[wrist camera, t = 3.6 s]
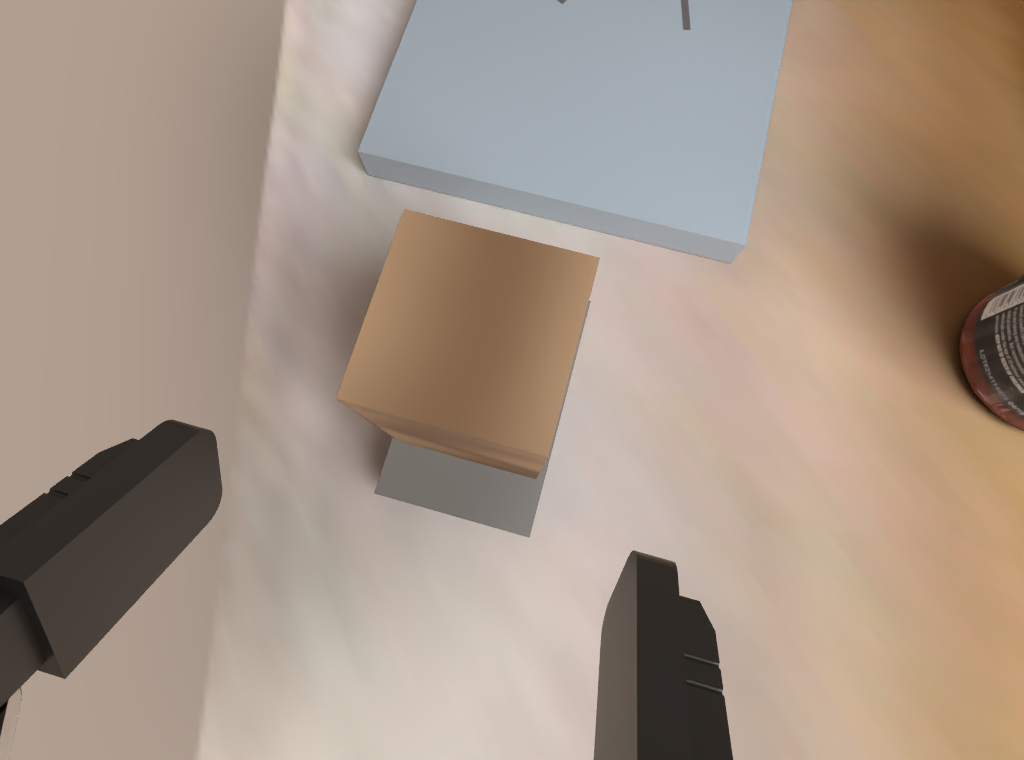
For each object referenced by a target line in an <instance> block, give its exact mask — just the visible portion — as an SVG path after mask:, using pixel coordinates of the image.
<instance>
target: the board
mask: <svg viewBox="0 0 1024 760" xmlns="http://www.w3.org/2000/svg"><path fill="white" fill-rule="evenodd" d="M792 3H793V0H417V1H416V4H415V6H414V9H413V11H412V14H411V16H410V19H409V21H408V24H407V27H406V29H405V32H404V34H403V37H402V39H401V42H400V44H399V47H398V50H397V52H396V55H395V57H394V60H393V62H392V65H391V67H390V70H389V72H388V75H387V78H386V80H385V83H384V85H383V88H382V90H381V93H380V95H379V98H378V101H377V103H376V106H375V108H374V111H373V113H372V116H371V118H370V121H369V123H368V126H367V129H366V131H365V134H364V136H363V139H362V141H361V144H360V146H359V149H358V153H359V156H360V158H361V160H362V163H363V165H364V167H365V170H366V172H367V174H368V175H371V176H375V177H379V178H383V179H388V180H392V181H396V182H400V183H404V184H408V185H412V186H416V187H420V188H424V189H428V190H432V191H437V192H441V193H445V194H449V195H453V196H457V197H461V198H465V199H469V200H473V201H477V202H481V203H485V204H490V205H494V206H498V207H502V208H506V209H510V210H514V211H518V212H522V213H526V214H530V215H534V216H538V217H543V218H547V219H551V220H555V221H559V222H563V223H567V224H571V225H575V226H579V227H583V228H587V229H592V230H596V231H600V232H604V233H608V234H612V235H616V236H620V237H624V238H628V239H632V240H636V241H640V242H645V243H649V244H653V245H657V246H661V247H665V248H669V249H673V250H677V251H681V252H685V253H689V254H693V255H698V256H702V257H706V258H710V259H714V260H718V261H722V262H726V263H730V264H731V262H732V261H733V260H734V259H735V258H736V257H737V255H738V254H739V253H740V252H741V251H742V250H743V248H744V247H745V246H746V243H747V238H748V232H749V227H750V222H751V217H752V212H753V206H754V201H755V196H756V191H757V185H758V180H759V175H760V170H761V165H762V159H763V154H764V149H765V144H766V139H767V133H768V128H769V123H770V118H771V112H772V107H773V102H774V97H775V92H776V86H777V81H778V76H779V71H780V66H781V60H782V55H783V50H784V45H785V39H786V34H787V29H788V24H789V19H790V13H791V8H792Z"/></svg>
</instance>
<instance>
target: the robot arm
mask: <svg viewBox="0 0 1024 760" xmlns="http://www.w3.org/2000/svg"><path fill="white" fill-rule="evenodd" d="M221 497H222V483H221V475H220V468H219V459H218V451H217V442H216V437H215V435H214V433H213V432H212V431H211V430H207V429H204V428H200V427H196V426H193V425H189V424H186V423H182V422H178V421H175V420H167V421H165V422H163V423H161V424H160V425H158V426H157V427H156V428H154V429H153V430H152V431H150V432H149V433H148V434H147V435H145V436H144V437H143V438H141V439H140V440H136V439H133V438H132V439H130V440H128V441H125V442H123V443H120V444H118V445H116V446H113V447H111V448H108V449H107V450H104V451H102V452H99V453H98V454H96V455H95V456H94V457H92V458H91V459H90V460H88V461H87V462H85V463H84V464H83V465H81V466H80V467H79V468H77V469H76V470H75V471H73V472H72V475H71V476H70V477H68V476H67V477H65V478H64V479H62V480H61V481H60V482H58V483H57V484H56V485H54V486H53V487H52V488H50V491H49V493H47V494H46V493H43V494H42V495H41V496H39V497H38V498H37V499H36V500H34V501H33V502H31V503H30V504H29V505H27V506H26V507H24V508H23V509H22V510H20V511H19V512H18V513H16V514H15V515H14V516H12V517H11V518H10V519H8V520H7V521H5V522H4V523H3V524H1V525H0V760H9V758H10V753H11V749H12V743H13V739H14V734H15V729H16V724H17V719H18V715H19V710H20V705H21V700H22V691H21V686H22V685H23V684H24V683H25V682H26V681H27V680H28V679H29V678H30V677H31V676H32V675H33V674H34V672H36V671H37V670H39V671H42V672H45V673H48V674H51V675H55V676H58V677H61V678H64V679H65V678H66V677H67V676H68V675H69V674H70V673H71V672H72V671H73V670H74V669H75V668H76V667H77V665H78V664H79V663H80V662H81V661H82V660H83V659H84V658H85V657H86V655H87V654H88V653H89V652H90V651H91V650H92V649H93V648H94V647H95V646H96V645H97V644H98V643H99V641H100V640H101V639H102V638H103V637H104V636H105V635H106V634H107V633H108V632H109V631H110V629H111V628H112V627H113V626H114V625H115V624H116V623H117V622H118V621H119V620H120V619H121V618H122V616H123V615H124V614H125V613H126V612H127V611H128V610H129V609H130V608H131V607H132V606H133V604H134V603H135V602H136V601H137V600H138V599H139V598H140V597H141V596H142V594H144V592H145V591H146V590H147V589H148V588H149V587H150V586H151V585H152V584H153V583H154V582H155V580H156V579H157V578H158V577H159V576H160V575H161V574H162V573H163V572H164V571H165V569H166V568H167V567H168V566H169V565H170V564H171V563H172V562H173V561H174V560H175V558H176V557H177V556H178V555H179V554H180V553H181V552H182V551H183V550H184V549H185V548H186V547H187V546H188V544H189V543H190V542H191V541H192V540H193V539H194V538H195V537H196V536H197V535H198V534H199V532H200V531H201V530H202V529H203V528H204V527H205V526H206V525H207V524H208V522H209V521H210V520H211V519H212V517H213V516H214V514H215V513H216V511H217V509H218V506H219V504H220V501H221ZM719 663H720V662H719V655H718V648H717V641H716V633H715V630H714V628H713V626H712V624H711V622H710V620H709V618H708V617H707V615H706V613H705V611H704V609H703V607H702V605H701V603H700V601H697V600H693V599H690V598H686V597H683V596H679V585H678V572H677V566H676V564H675V562H673V561H669V560H665V559H662V558H658V557H655V556H651V555H648V554H644V553H640V552H637V551H632V552H631V553H630V555H629V557H628V559H627V562H626V564H625V566H624V568H623V571H622V573H621V575H620V578H619V580H618V582H617V584H616V587H615V589H614V591H613V593H612V596H611V598H610V600H609V603H608V606H607V609H606V612H605V616H604V621H603V627H602V634H601V648H600V665H599V681H598V698H597V715H596V732H595V749H594V760H733V756H732V749H731V742H730V735H729V727H728V720H727V713H726V706H725V698H724V696H723V695H722V691H723V684H722V677H721V670H720V669H719Z"/></svg>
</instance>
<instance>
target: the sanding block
mask: <svg viewBox="0 0 1024 760" xmlns="http://www.w3.org/2000/svg"><path fill="white" fill-rule="evenodd" d="M599 259H600V258H598V257H594V256H590V255H586V254H582V253H578V252H574V251H570V250H566V249H562V248H558V247H554V246H550V245H546V244H542V243H538V242H534V241H530V240H526V239H522V238H518V237H514V236H510V235H506V234H502V233H498V232H494V231H490V230H486V229H482V228H478V227H473V226H469V225H465V224H461V223H457V222H453V221H449V220H445V219H441V218H437V217H433V216H429V215H425V214H421V213H417V212H413V211H409V210H405V209H404V211H403V213H402V216H401V219H400V222H399V224H398V227H397V230H396V233H395V236H394V238H393V241H392V244H391V247H390V250H389V252H388V255H387V258H386V261H385V263H384V266H383V269H382V272H381V275H380V277H379V280H378V283H377V286H376V288H375V291H374V294H373V297H372V300H371V302H370V305H369V308H368V311H367V314H366V316H365V319H364V322H363V325H362V327H361V330H360V333H359V336H358V339H357V341H356V344H355V347H354V350H353V353H352V355H351V358H350V361H349V364H348V366H347V369H346V372H345V375H344V378H343V380H342V383H341V386H340V389H339V391H338V394H337V397H336V399H337V400H338V401H340V402H341V403H343V404H344V405H346V406H347V407H349V408H350V409H352V410H353V411H355V412H356V413H358V414H359V415H361V416H362V417H364V418H365V419H367V420H368V421H370V422H371V423H373V424H374V425H376V426H377V427H379V428H380V429H382V430H383V431H385V432H386V433H388V434H389V435H391V436H392V437H393V438H392V441H391V444H390V447H389V450H388V453H387V456H386V459H385V462H384V465H383V468H382V471H381V474H380V477H379V480H378V484H377V487H376V490H375V494H379V495H382V496H386V497H389V498H393V499H396V500H400V501H403V502H407V503H410V504H414V505H417V506H421V507H424V508H428V509H431V510H435V511H438V512H442V513H445V514H449V515H452V516H456V517H459V518H463V519H466V520H470V521H473V522H477V523H480V524H484V525H487V526H491V527H494V528H498V529H501V530H505V531H508V532H512V533H515V534H519V535H522V536H526V537H530V533H531V529H532V525H533V521H534V517H535V513H536V510H537V506H538V502H539V498H540V494H541V490H542V486H543V482H544V479H545V475H546V471H547V467H548V463H549V459H550V455H551V451H552V448H553V444H554V440H555V436H556V432H557V428H558V424H559V421H560V417H561V413H562V409H563V405H564V401H565V397H566V393H567V390H568V386H569V382H570V378H571V374H572V370H573V366H574V362H575V359H576V355H577V351H578V347H579V343H580V339H581V335H582V331H583V328H584V324H585V320H586V316H587V312H588V308H589V304H590V301H589V297H590V294H591V290H592V286H593V282H594V278H595V274H596V270H597V267H598V263H599Z"/></svg>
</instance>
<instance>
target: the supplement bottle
mask: <svg viewBox="0 0 1024 760" xmlns="http://www.w3.org/2000/svg"><path fill="white" fill-rule="evenodd" d="M959 347H960V355H961V362H962V368H963V370H964V371H965V374H966V377H967V380H968V382H969V384H970V385H971V387H972V390H973V391H974V392H975V394H976V395H977V396H978V397H979V399H980V400H981V401H982V402H983V403H984V404H985V405H986V406H987V407H988V408H989V409H990V410H991V411H992V412H993V413H995V414H996V415H997V416H999V417H1000V418H1001V419H1002V420H1004V421H1006V422H1007V423H1009V424H1011V425H1013V426H1014V427H1016V428H1019V429H1021V430H1023V431H1024V276H1023V277H1021V278H1019V279H1018V280H1015V281H1013V282H1010V283H1008V284H1007V285H1006V286H1004V287H1002V288H1000V289H999V290H997V291H995V292H993V293H992V294H990V295H988V296H986V297H985V298H983V299H982V300H981V301H980V302H979V303H978V304H977V305H976V306H975V307H974V308H973V310H972V311H971V313H970V314H969V316H968V318H967V320H966V321H965V323H964V325H963V330H962V332H961V337H960V344H959Z"/></svg>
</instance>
